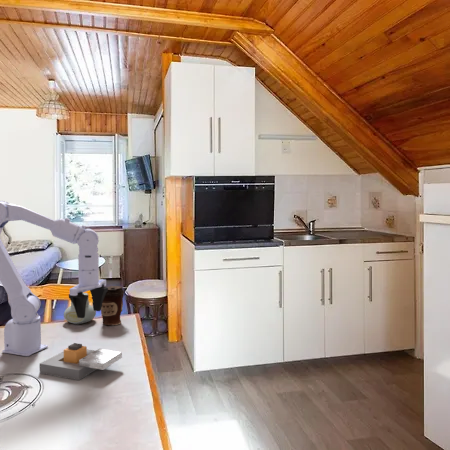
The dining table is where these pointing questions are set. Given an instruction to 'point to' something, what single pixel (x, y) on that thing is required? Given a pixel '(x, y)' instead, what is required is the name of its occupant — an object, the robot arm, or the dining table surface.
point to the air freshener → (72, 316)
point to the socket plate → (65, 367)
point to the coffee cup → (112, 305)
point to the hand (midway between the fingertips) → (89, 314)
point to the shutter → (100, 359)
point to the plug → (75, 353)
